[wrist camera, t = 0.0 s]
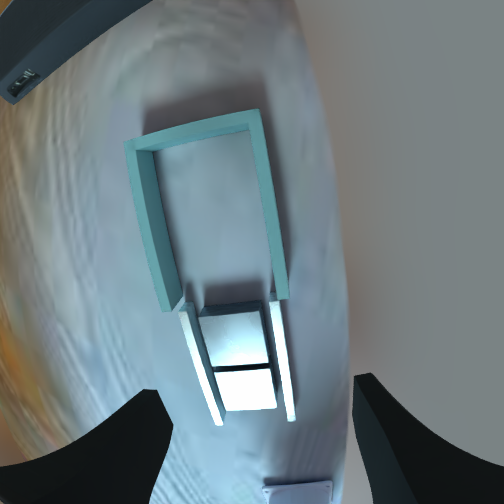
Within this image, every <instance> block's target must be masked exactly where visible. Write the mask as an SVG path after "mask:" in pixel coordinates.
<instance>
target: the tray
mask: <svg viewBox="0 0 504 504" xmlns="http://www.w3.org/2000/svg"><path fill="white" fill-rule="evenodd" d="M245 130H250V136H251V141H252V147H253V153H254V158H255V164H256V170H257V176H258V181H259V187H260V193H261V199H262V205H263V211H264V217H265V223H266V229H267V235H268V241H269V248H270V254H271V260H272V266H273V273H274V279H275V286H276V292H277V299H278V300H281V299H289V298H290V296H289V283H288V276H287V269H286V262H285V255H284V248H283V241H282V235H281V228H280V222H279V215H278V209H277V203H276V197H275V191H274V184H273V178H272V173H271V167H270V161H269V155H268V149H267V144H266V138H265V133H264V127H263V122H262V116H261V113H260V110H259V108H258V109H252V110H246V111H241V112H236V113H231V114H226V115H221V116H216V117H212V118H207V119H203V120H199V121H195V122H191V123H187V124H183V125H179V126H175V127H171V128H168V129H164V130H161V131H157V132H154V133H150V134H147V135H144V136H141V137H137V138H134V139H131V140H128V141H125V142H124V148H125V155H126V161H127V167H128V173H129V178H130V184H131V189H132V194H133V199H134V204H135V209H136V214H137V219H138V223H139V228H140V232H141V236H142V241H143V245H144V249H145V253H146V257H147V261H148V265H149V268H150V272H151V276H152V280H153V283H154V287H155V290H156V294H157V297H158V301H159V304H160V307H161V311H162V312H169V311H172V310H173V309H174V308H175V306H176V305H177V303H178V302H179V301H180V299H181V298H182V297H183V293H182V289H181V285H180V281H179V277H178V273H177V269H176V265H175V261H174V257H173V253H172V248H171V244H170V240H169V235H168V231H167V226H166V221H165V217H164V212H163V207H162V202H161V197H160V192H159V187H158V181H157V176H156V170H155V165H154V159H153V153H152V152H153V151H157V150H161V149H164V148H168V147H172V146H176V145H180V144H184V143H188V142H192V141H196V140H201V139H205V138H210V137H214V136H219V135H224V134H229V133H234V132H239V131H245Z"/></svg>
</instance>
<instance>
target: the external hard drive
mask: <svg viewBox="0 0 504 504" xmlns="http://www.w3.org/2000/svg"><path fill="white" fill-rule="evenodd" d="M151 1H152V0H12V1H11V3H10V4H9V5H8V6H7V7H6V9H5V10H4V11H3V12H2V14H1V15H0V95H1V96H2V97H3V98H4V99H5V100H6V101H8V102H9V103H11V104H12V105H14V104H15V103H17V102H18V101H20V100H21V99H22V98H23V97H24V96H25V95H27V94H28V93H29V92H30V91H31V90H32V89H33V88H35V87H36V86H37V85H38V84H39V83H41V82H42V81H43V80H44V79H45V78H46V77H48V76H49V75H50V74H51V73H52V72H54V71H55V70H56V69H57V68H59V67H60V66H61V65H62V64H63V63H65V62H66V61H67V60H68V59H70V58H71V57H72V56H74V55H75V54H76V53H77V52H79V51H80V50H81V49H83V48H84V47H85V46H87V45H88V44H89V43H91V42H92V41H93V40H94V39H96V38H97V37H99V36H100V35H101V34H103V33H104V32H106V31H107V30H108V29H110V28H111V27H113V26H114V25H116V24H117V23H119V22H120V21H121V20H123V19H124V18H126V17H127V16H129V15H130V14H132V13H133V12H135V11H136V10H138V9H140V8H141V7H143V6H144V5H146V4H147V3H149V2H151Z"/></svg>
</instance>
